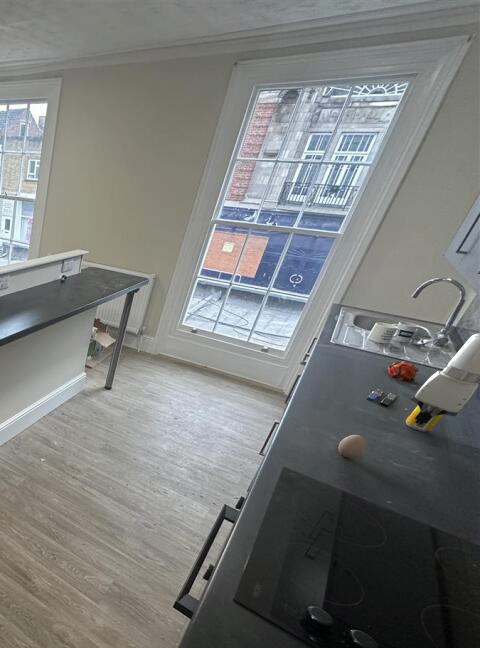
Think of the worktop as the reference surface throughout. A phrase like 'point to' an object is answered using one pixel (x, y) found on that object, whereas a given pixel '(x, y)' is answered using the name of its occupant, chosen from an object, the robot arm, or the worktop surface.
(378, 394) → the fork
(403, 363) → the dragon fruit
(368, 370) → the worktop surface
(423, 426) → the beer can
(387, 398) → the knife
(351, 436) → the egg
